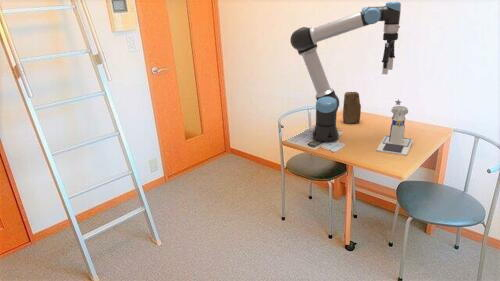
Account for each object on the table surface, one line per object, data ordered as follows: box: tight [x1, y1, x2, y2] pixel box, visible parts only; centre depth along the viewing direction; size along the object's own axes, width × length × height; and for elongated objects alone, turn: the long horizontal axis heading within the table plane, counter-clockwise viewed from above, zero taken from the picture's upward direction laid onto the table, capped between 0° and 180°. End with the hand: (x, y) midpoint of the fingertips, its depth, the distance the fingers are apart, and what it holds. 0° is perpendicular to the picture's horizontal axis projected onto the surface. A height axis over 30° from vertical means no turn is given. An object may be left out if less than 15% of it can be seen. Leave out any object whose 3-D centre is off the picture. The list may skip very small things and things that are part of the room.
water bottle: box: [389, 99, 409, 144], centre depth 195 cm, size 8×9×25 cm
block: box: [342, 91, 362, 125], centre depth 232 cm, size 11×8×20 cm
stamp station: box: [376, 135, 414, 157], centre depth 196 cm, size 15×22×1 cm
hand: (387, 71), depth 201 cm, fingers open, 13 cm apart
